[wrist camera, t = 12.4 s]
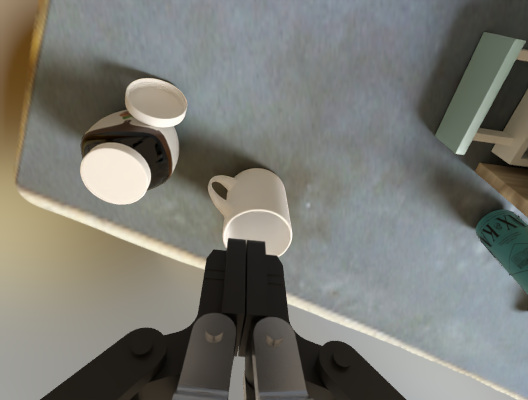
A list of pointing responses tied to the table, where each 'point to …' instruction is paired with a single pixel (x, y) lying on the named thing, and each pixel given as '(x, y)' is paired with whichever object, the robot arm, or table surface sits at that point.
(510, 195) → the open wooden box
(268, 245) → the mug
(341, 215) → the table surface
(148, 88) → the spread jar
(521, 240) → the beverage bottle
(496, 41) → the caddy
